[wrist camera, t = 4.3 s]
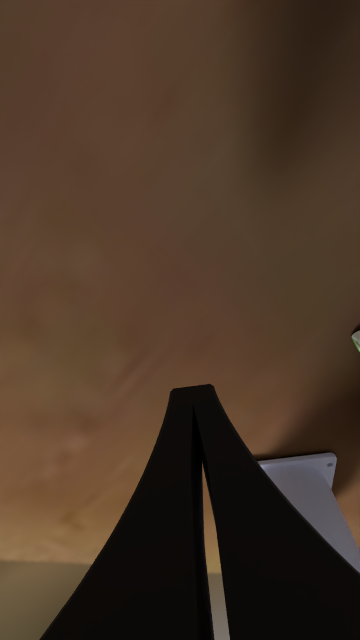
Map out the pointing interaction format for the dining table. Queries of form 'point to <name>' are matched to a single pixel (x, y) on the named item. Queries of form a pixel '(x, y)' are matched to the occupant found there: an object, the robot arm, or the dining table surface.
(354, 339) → the syrup box
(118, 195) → the dining table surface
